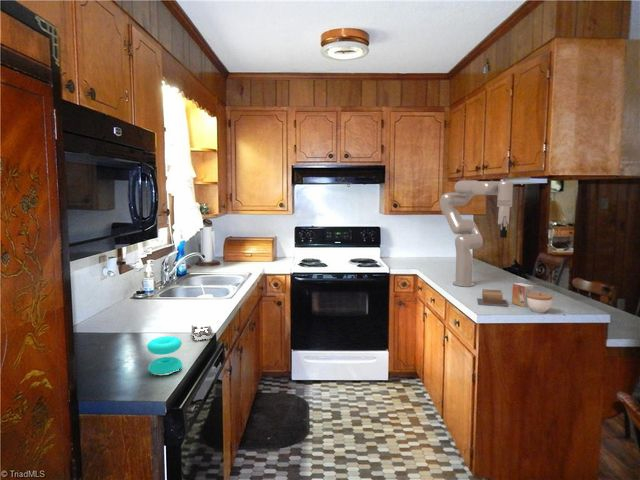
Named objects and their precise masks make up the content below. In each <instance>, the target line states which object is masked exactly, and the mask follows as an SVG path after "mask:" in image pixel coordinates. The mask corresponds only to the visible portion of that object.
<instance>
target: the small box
mask: <svg viewBox="0 0 640 480" xmlns="http://www.w3.org/2000/svg"><path fill="white" fill-rule="evenodd" d="M529 293H534V285H531V284H526V283H523V282H517V283H516V282H515V283H512V293H511V296H512V297H511V304H513V305H517V306H520V307H522V308H529V306H528V303H527V294H529Z"/></svg>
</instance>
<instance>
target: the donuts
mask: <svg viewBox="0 0 640 480" xmlns="http://www.w3.org/2000/svg"><path fill="white" fill-rule="evenodd" d="M181 346H182V341H181V339H180V338H179V337H176V336H172V335H171V336H169V335H168V336H160V337H156V338H154V339H151V340H150V341H149V342H148V343H147V347H146V348H147V349H148V351H149V352H150V353H152V354H154V355H158V356H159V355H169V354H172V353H175V352H177V351H179V349H180V348H181ZM181 367H183V362H182V361H181V359H179V358H178V357H175V356H163V357H159V358H156V359H154V360H152V361H151V362H150V364H149V365H148V367H147V368H148V369H147V370H148V372H149V371H150V372H151V373H156V374H165V373H170V372H173V371H176V370H178V369H180V368H181ZM181 369H182V368H181ZM181 369H180V370H181ZM150 372H149V373H150ZM151 373H150V374H151Z"/></svg>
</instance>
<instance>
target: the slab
mask: <svg viewBox="0 0 640 480" xmlns="http://www.w3.org/2000/svg"><path fill="white" fill-rule="evenodd" d="M481 293H482V296H481V297H482V298H481V299H483V303H496V304H502V301H503V300H504V298H503V297H504V296H503V295H504V294H503V292H502V290H501V289H487V288H486V289H485V288H482V291H481Z"/></svg>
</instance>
